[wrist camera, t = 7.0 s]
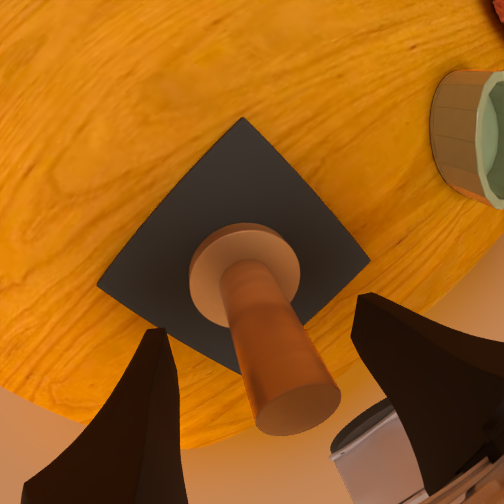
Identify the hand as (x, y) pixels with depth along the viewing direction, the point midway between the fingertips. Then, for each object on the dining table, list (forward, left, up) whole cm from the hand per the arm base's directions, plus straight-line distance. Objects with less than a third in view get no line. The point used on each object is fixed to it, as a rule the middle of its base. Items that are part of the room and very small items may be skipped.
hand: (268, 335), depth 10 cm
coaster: (0, 0, -5) cm, 5 cm away
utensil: (0, 0, -4) cm, 5 cm away
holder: (+16, -5, -5) cm, 17 cm away
